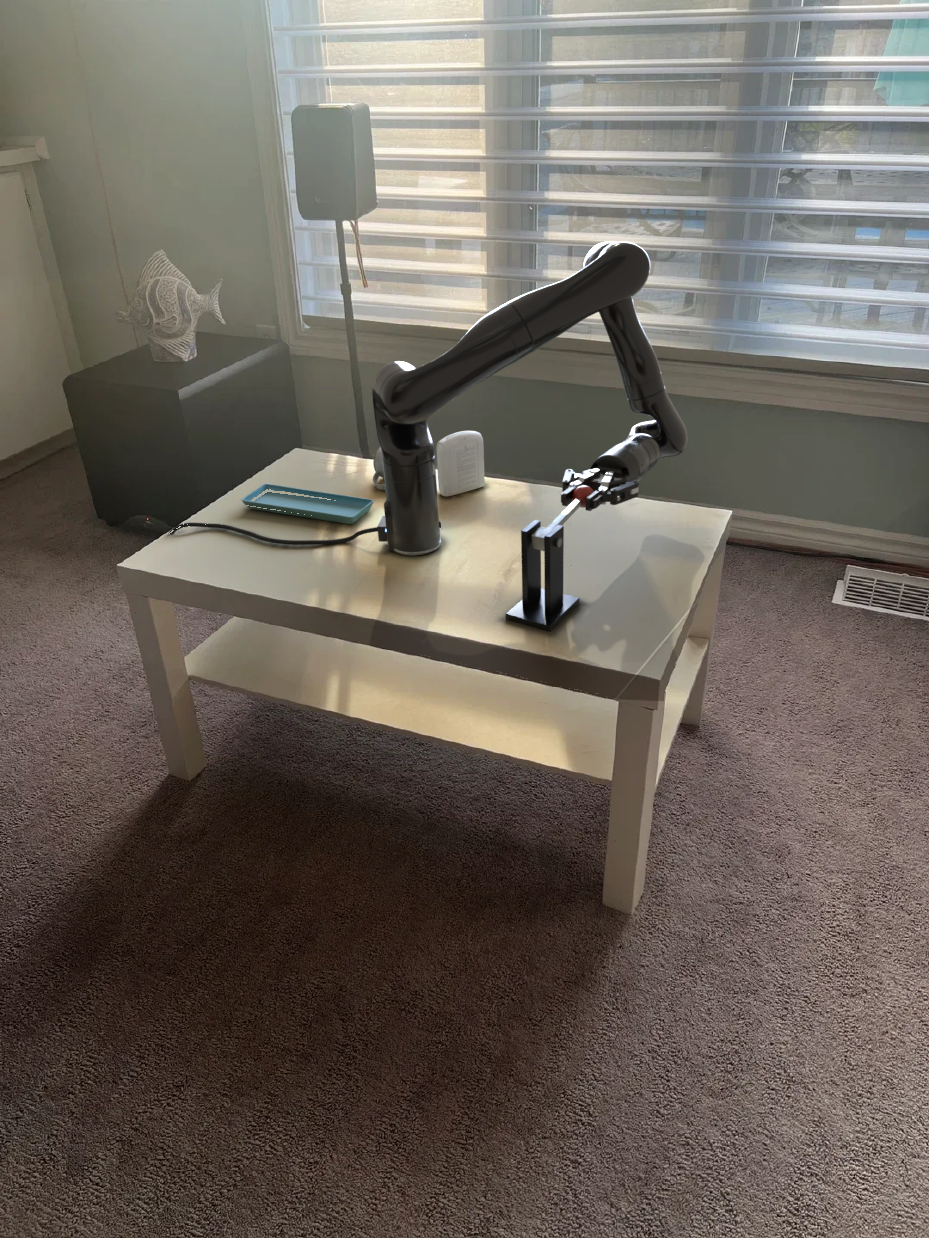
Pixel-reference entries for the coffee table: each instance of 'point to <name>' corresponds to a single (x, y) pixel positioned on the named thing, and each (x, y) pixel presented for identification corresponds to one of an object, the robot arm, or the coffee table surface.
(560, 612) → the black lever stand
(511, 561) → the coffee table surface
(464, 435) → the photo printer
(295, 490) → the shallow long dish
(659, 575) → the coffee table surface
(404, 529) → the robot arm
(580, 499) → the red knobbed lever
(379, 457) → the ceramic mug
